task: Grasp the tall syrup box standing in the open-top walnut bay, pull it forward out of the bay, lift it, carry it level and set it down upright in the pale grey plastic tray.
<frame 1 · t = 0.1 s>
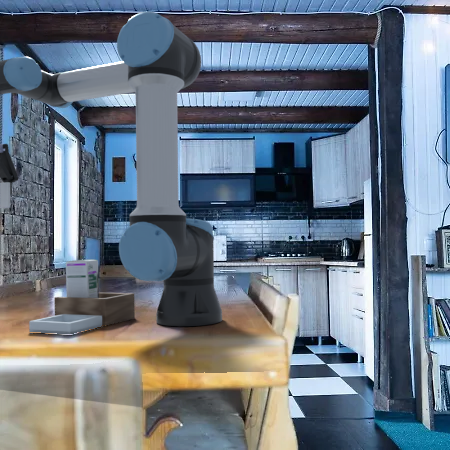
tray: (66, 330, 106), on the table
syrup box: (83, 321, 120), resting in bay
bay: (83, 320, 120), on the table
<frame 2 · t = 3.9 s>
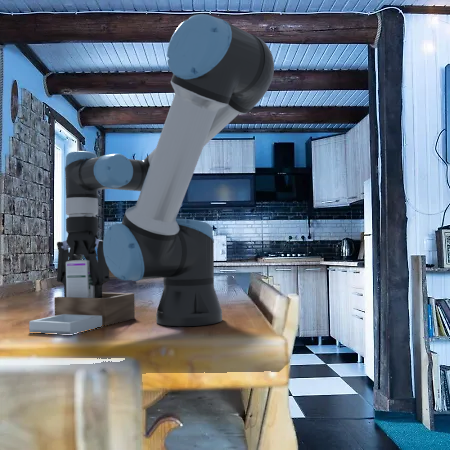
hand: (83, 311, 120), 2 cm above the table, fingers closed on syrup box, 6 cm apart
syrup box: (83, 320, 120), resting in bay, touching gripper
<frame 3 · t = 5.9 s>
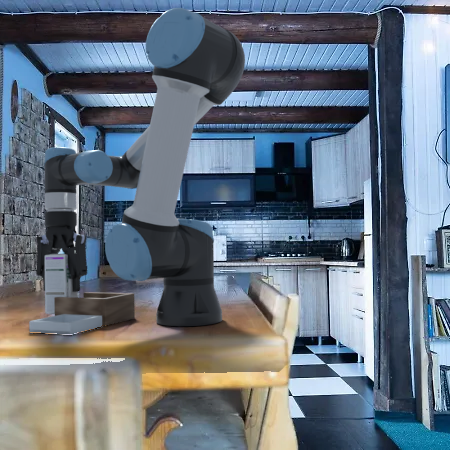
hand: (61, 304, 122), 3 cm above the table, fingers closed on syrup box, 6 cm apart
syrup box: (61, 313, 122), point 1 cm above the table, touching gripper
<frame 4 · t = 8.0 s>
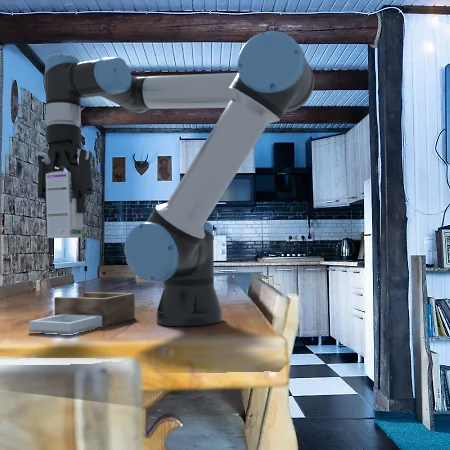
hand: (65, 229, 111), 22 cm above the table, fingers closed on syrup box, 6 cm apart
syrup box: (65, 238, 111), point 20 cm above the table, touching gripper
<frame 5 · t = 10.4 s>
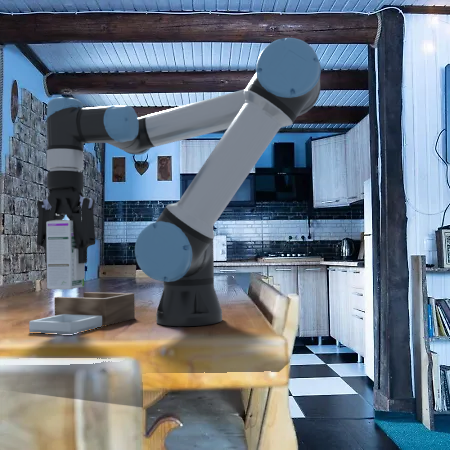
hand: (65, 278, 107), 11 cm above the table, fingers closed on syrup box, 6 cm apart
syrup box: (65, 289, 107), point 9 cm above the table, touching gripper
when the fingers open (4 cm above the table, at t = 12.5 s): syrup box drops 1 cm, resting on tray.
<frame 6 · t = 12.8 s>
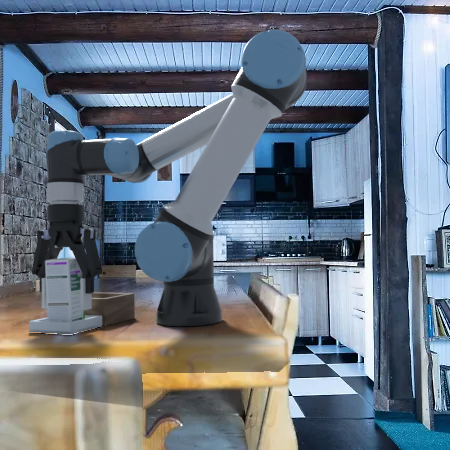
hand: (66, 308, 106), 5 cm above the table, fingers open, 9 cm apart
syrup box: (66, 327, 106), point 1 cm above the table, touching tray
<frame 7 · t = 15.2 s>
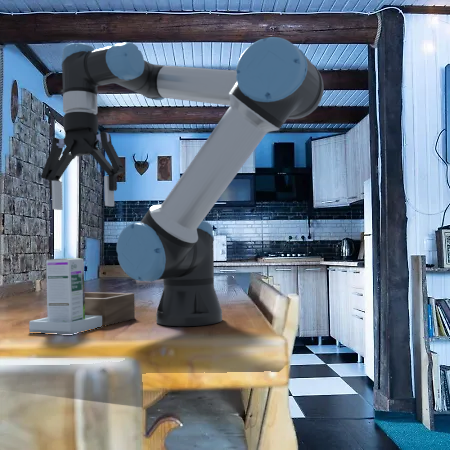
hand: (83, 207, 112), 26 cm above the table, fingers open, 13 cm apart
nothing on the table moved.
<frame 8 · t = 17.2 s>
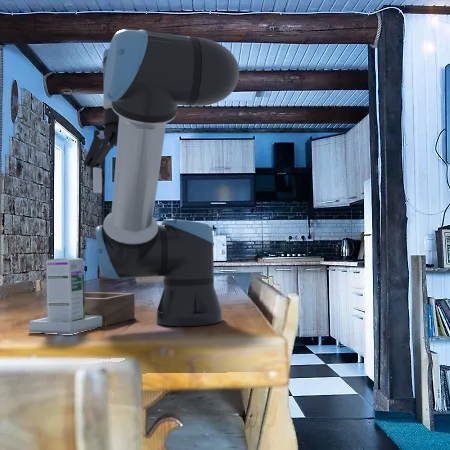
hand: (119, 191, 129), 32 cm above the table, fingers open, 13 cm apart
nothing on the table moved.
at the end: syrup box 0.1 cm off-centre on the tray, point 0.6 cm above the tray's base; syrup box tilted 0°; the gripper is holding nothing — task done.
